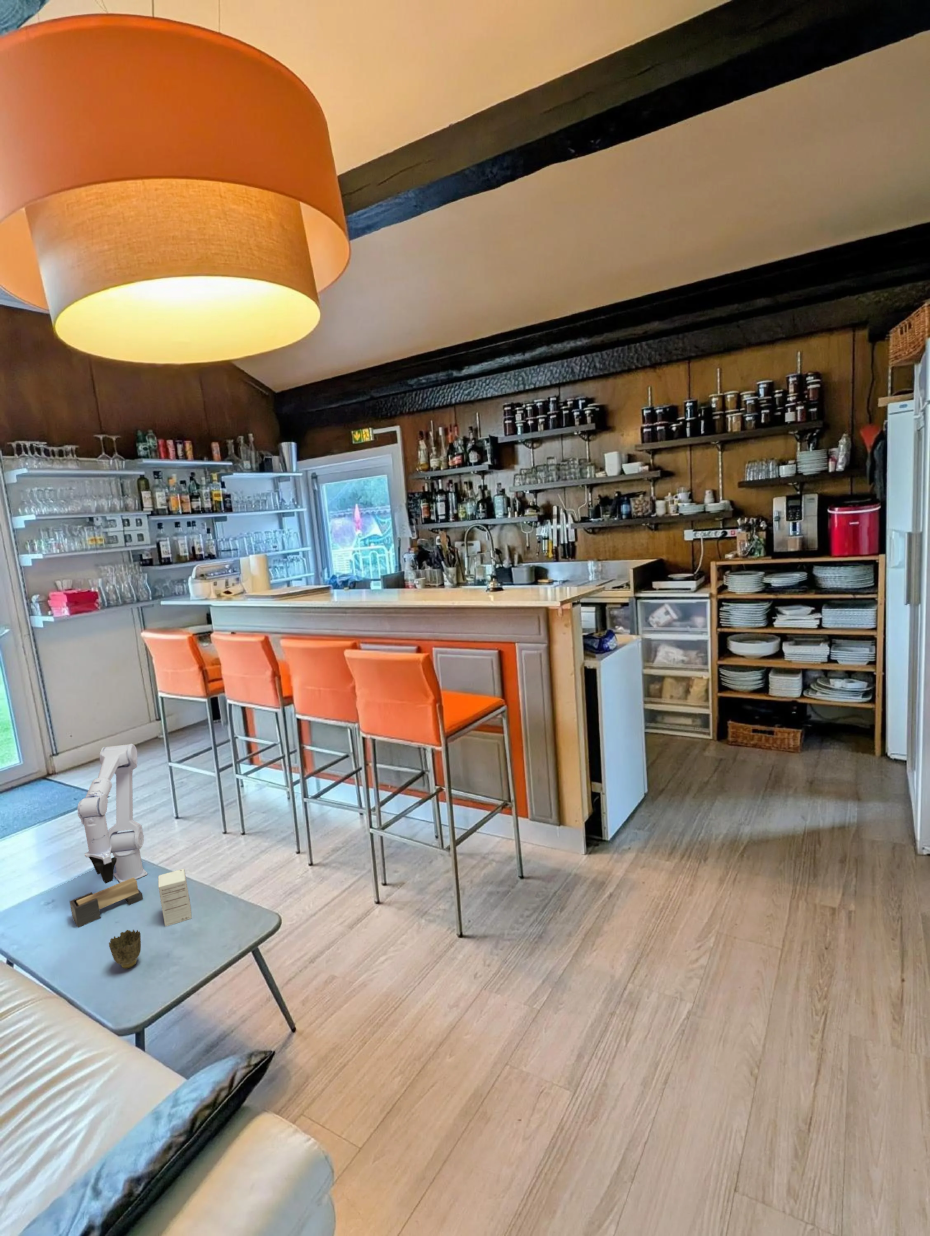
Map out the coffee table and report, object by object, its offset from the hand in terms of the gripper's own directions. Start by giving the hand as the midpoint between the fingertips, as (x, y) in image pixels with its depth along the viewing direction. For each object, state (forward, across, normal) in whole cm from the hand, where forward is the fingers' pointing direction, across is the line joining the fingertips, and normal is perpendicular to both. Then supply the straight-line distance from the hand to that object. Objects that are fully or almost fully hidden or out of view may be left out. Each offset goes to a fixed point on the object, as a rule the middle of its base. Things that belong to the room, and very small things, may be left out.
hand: (104, 877), depth 195 cm
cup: (+11, +33, -4) cm, 35 cm away
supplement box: (+11, +21, +12) cm, 27 cm away
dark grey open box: (+10, 0, -6) cm, 12 cm away
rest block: (+10, 0, +6) cm, 12 cm away
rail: (+8, 0, 0) cm, 8 cm away
